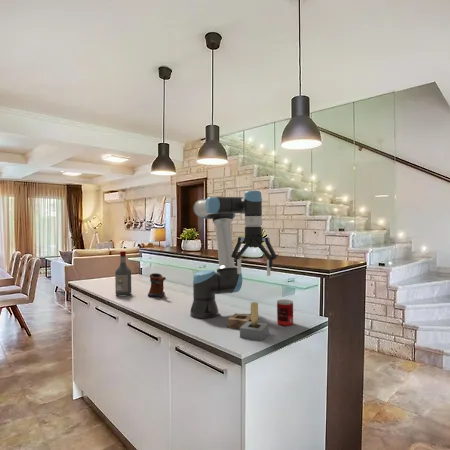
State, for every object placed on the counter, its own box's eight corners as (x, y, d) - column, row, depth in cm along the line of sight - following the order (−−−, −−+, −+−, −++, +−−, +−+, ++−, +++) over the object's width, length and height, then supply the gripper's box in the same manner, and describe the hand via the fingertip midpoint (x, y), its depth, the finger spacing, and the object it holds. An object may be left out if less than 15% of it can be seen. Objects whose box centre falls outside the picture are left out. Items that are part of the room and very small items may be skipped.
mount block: (227, 327, 154) (227, 318, 154) (235, 321, 163) (235, 313, 163) (247, 329, 150) (247, 321, 150) (254, 323, 159) (254, 315, 159)
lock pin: (250, 335, 142) (249, 303, 142) (252, 333, 145) (252, 302, 145) (257, 336, 141) (256, 304, 141) (259, 334, 144) (258, 302, 144)
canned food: (291, 321, 162) (290, 299, 162) (295, 326, 154) (294, 303, 154) (275, 321, 162) (275, 299, 162) (279, 326, 154) (278, 303, 154)
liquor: (126, 296, 221) (126, 252, 221) (114, 295, 223) (113, 252, 222) (132, 293, 230) (131, 250, 230) (120, 292, 232) (119, 250, 231)
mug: (172, 297, 215) (172, 275, 215) (156, 300, 208) (156, 277, 208) (160, 293, 229) (160, 272, 229) (144, 295, 222) (144, 273, 222)
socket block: (239, 337, 141) (239, 327, 141) (247, 329, 150) (247, 321, 150) (262, 340, 137) (262, 330, 137) (268, 332, 146) (268, 323, 146)
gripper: (223, 226, 144) (224, 274, 145) (279, 226, 134) (279, 277, 135) (230, 226, 151) (230, 271, 151) (283, 225, 141) (283, 274, 142)
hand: (253, 274), depth 143 cm, fingers open, 13 cm apart
